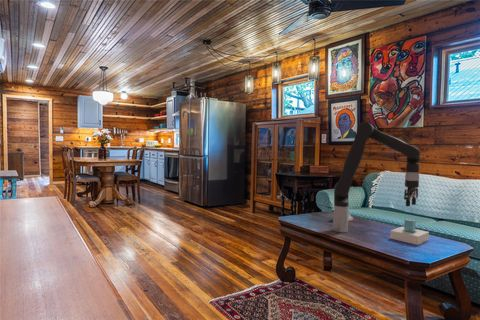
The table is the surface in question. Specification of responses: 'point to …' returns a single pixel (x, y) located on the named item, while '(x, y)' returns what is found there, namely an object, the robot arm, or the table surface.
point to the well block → (409, 236)
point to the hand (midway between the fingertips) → (410, 205)
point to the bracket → (409, 225)
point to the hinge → (349, 216)
